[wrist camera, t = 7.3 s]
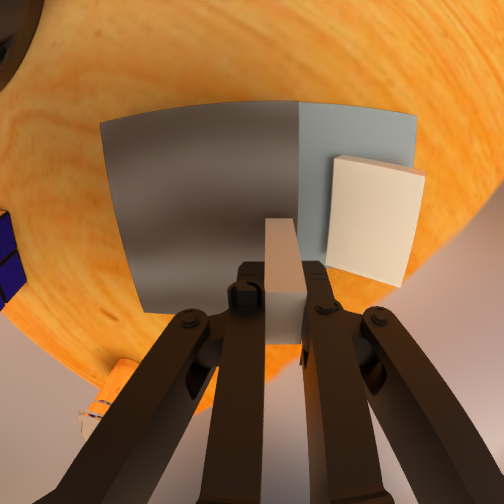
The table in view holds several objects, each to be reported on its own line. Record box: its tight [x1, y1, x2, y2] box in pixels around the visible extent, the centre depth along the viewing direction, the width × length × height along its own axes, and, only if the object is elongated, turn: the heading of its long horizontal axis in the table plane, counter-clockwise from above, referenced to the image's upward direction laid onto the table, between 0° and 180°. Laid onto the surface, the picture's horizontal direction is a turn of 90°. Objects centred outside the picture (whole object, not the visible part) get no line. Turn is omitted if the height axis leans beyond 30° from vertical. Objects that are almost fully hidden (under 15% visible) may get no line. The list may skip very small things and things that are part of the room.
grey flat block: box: [100, 101, 299, 316], centre depth 19 cm, size 15×12×4 cm
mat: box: [297, 102, 417, 268], centre depth 19 cm, size 13×9×1 cm
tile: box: [325, 155, 426, 288], centre depth 18 cm, size 8×6×2 cm
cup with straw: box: [78, 359, 139, 443], centre depth 24 cm, size 8×9×20 cm
